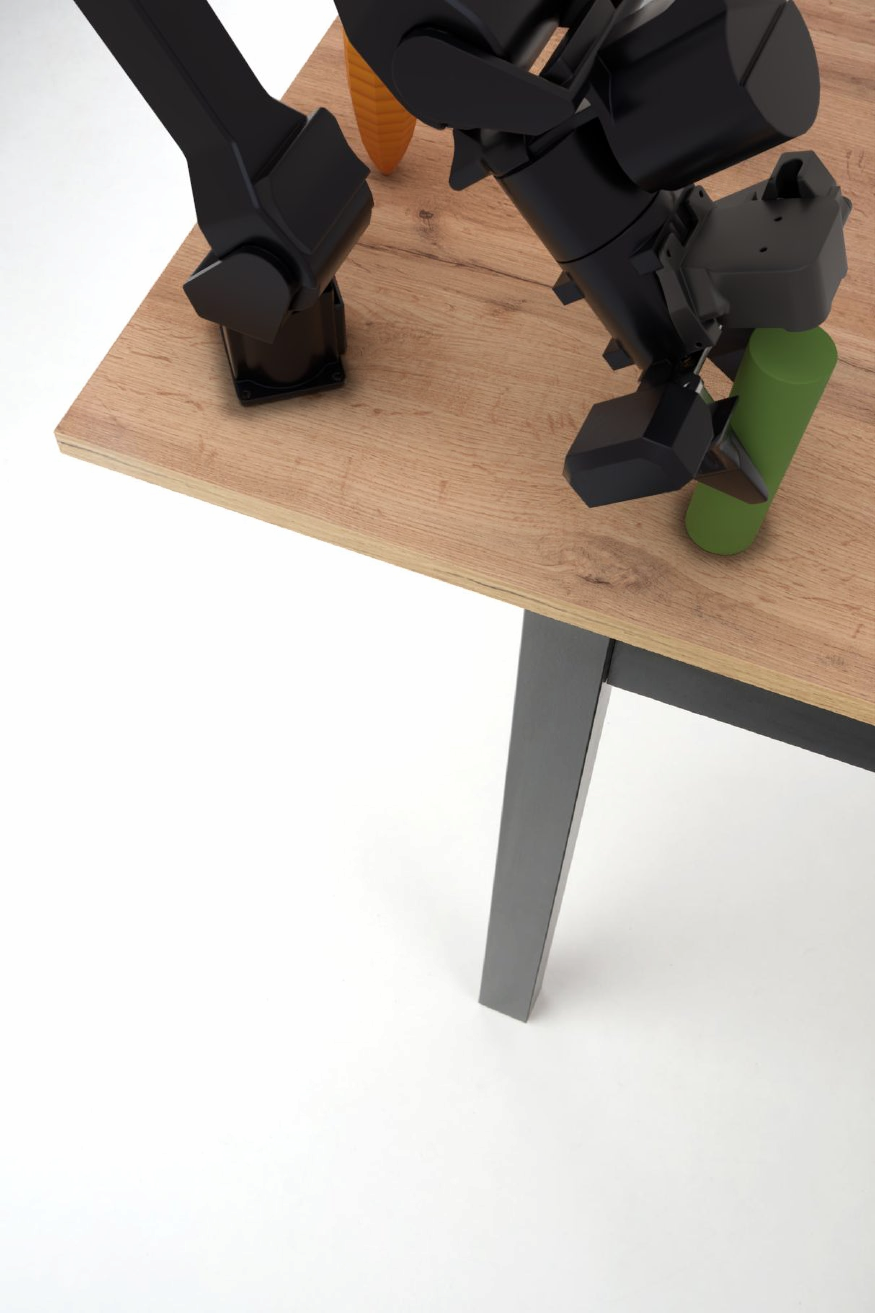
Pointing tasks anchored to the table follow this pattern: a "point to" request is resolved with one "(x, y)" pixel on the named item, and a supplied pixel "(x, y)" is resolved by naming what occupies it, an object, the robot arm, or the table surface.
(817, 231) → the robot arm
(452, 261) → the table surface
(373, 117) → the carrot
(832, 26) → the table surface
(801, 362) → the green cylinder
